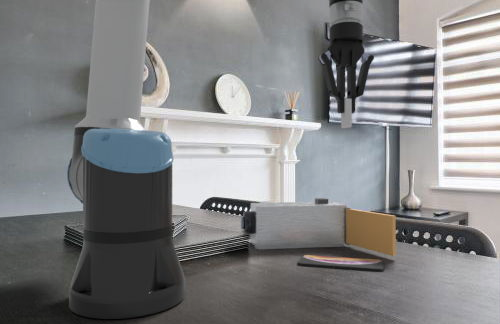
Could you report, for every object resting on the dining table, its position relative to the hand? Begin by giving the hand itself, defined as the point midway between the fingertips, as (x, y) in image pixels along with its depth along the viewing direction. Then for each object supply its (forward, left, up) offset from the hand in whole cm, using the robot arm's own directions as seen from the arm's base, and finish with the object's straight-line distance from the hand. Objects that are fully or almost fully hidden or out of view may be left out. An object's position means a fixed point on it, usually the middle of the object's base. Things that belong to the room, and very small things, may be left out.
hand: (346, 127), depth 93 cm
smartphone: (-9, -19, -27) cm, 34 cm away
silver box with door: (-13, -1, -26) cm, 30 cm away
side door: (0, -11, -26) cm, 28 cm away
